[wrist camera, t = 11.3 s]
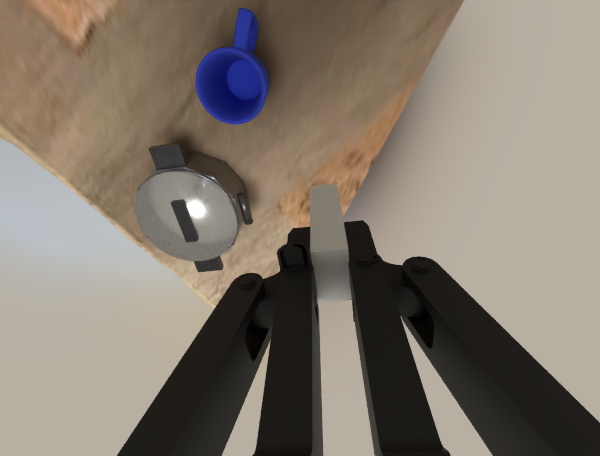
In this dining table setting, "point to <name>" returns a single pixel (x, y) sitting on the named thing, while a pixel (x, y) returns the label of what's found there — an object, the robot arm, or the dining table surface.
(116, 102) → the dining table surface
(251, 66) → the mug
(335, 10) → the dining table surface
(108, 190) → the dining table surface
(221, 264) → the pot
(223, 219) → the lid
